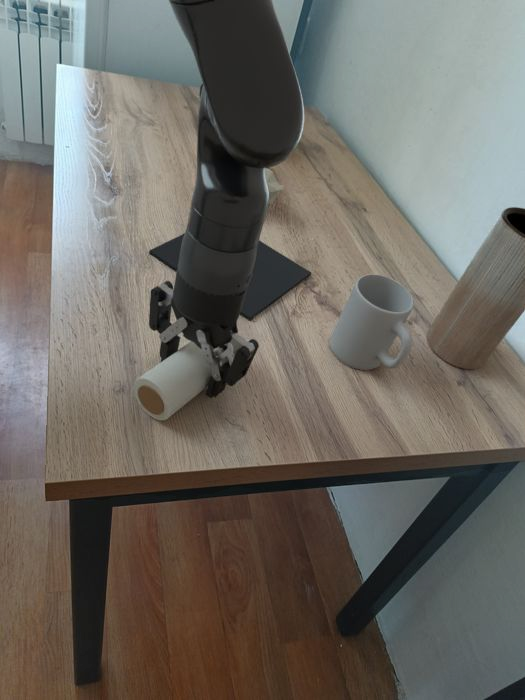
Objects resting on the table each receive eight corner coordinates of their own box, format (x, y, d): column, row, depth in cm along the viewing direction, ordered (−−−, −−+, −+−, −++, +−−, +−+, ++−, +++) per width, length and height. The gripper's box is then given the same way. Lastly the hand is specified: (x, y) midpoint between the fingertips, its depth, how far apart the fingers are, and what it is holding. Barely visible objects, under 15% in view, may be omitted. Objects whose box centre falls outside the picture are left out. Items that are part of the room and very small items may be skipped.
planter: (418, 322, 89) (491, 200, 74) (471, 330, 91) (553, 213, 76) (436, 366, 82) (521, 241, 67) (493, 373, 84) (588, 254, 69)
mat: (148, 253, 84) (149, 250, 84) (219, 219, 96) (220, 216, 96) (249, 320, 79) (250, 317, 78) (310, 275, 91) (311, 272, 91)
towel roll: (130, 402, 63) (133, 370, 59) (207, 345, 73) (214, 314, 69) (165, 430, 61) (171, 398, 58) (239, 368, 71) (249, 338, 67)
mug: (317, 335, 80) (343, 276, 73) (361, 325, 84) (389, 270, 77) (363, 394, 74) (397, 337, 66) (408, 381, 78) (444, 326, 70)
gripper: (137, 246, 54) (125, 360, 66) (249, 321, 50) (216, 428, 62) (186, 224, 59) (167, 332, 71) (291, 290, 55) (253, 394, 67)
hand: (190, 377), depth 66 cm, fingers open, 6 cm apart
